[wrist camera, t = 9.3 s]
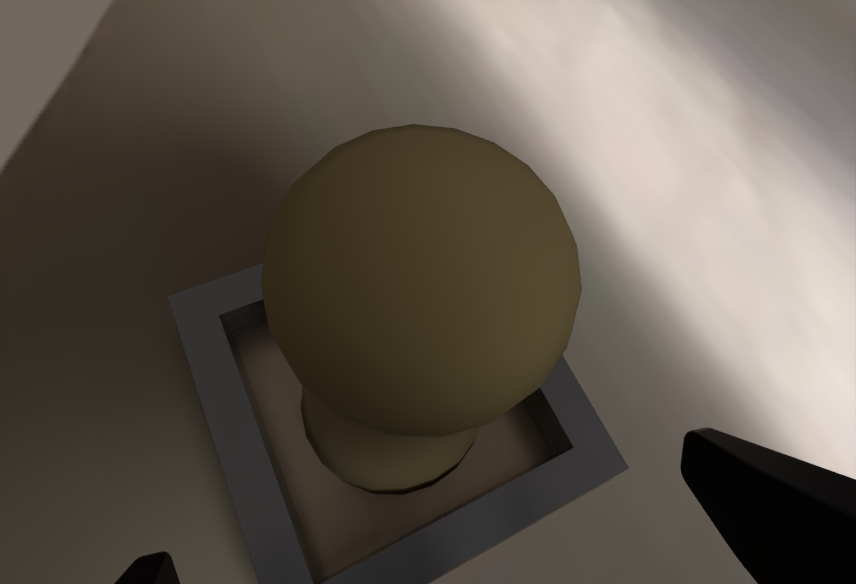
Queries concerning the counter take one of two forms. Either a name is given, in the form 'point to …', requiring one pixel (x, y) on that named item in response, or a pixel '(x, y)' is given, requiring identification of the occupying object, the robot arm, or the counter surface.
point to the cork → (416, 298)
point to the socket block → (355, 508)
